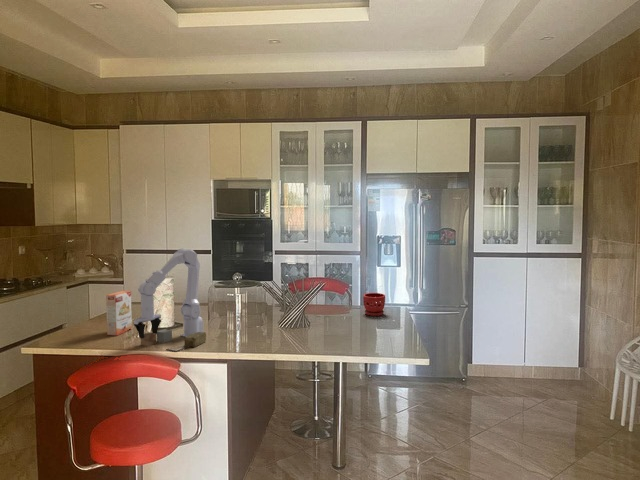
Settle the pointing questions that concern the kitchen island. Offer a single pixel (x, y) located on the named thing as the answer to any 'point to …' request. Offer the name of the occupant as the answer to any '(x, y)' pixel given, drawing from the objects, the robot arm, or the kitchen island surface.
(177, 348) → the tile
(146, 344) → the walnut cube
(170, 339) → the slate grey cube
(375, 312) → the plant pot
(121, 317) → the cracker box
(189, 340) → the stone block
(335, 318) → the kitchen island surface
